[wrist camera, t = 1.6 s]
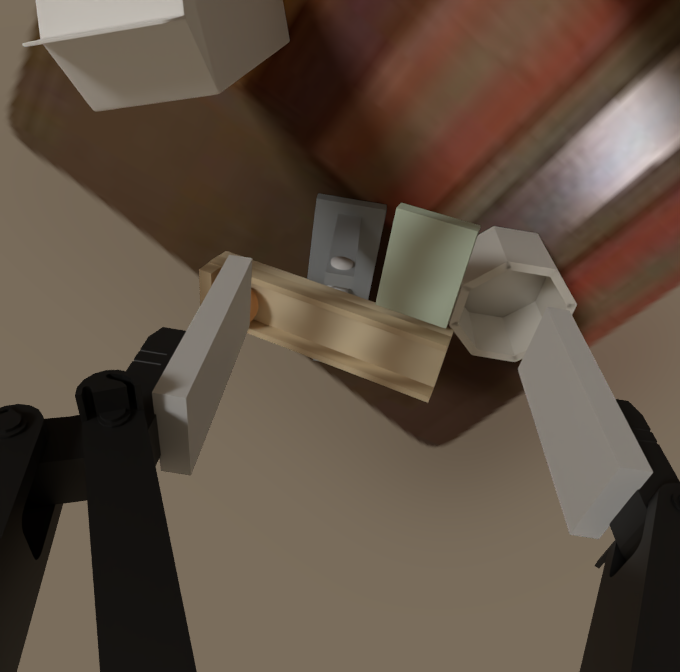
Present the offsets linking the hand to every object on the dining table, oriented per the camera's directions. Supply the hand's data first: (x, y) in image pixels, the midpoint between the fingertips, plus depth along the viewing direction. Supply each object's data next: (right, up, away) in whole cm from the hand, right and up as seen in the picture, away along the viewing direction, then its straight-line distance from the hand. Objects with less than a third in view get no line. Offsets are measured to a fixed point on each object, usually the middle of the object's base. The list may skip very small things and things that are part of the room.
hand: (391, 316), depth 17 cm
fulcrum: (-1, +7, +29) cm, 30 cm away
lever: (-2, +4, +18) cm, 19 cm away
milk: (-9, +23, +19) cm, 31 cm away
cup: (+13, +5, +30) cm, 33 cm away
